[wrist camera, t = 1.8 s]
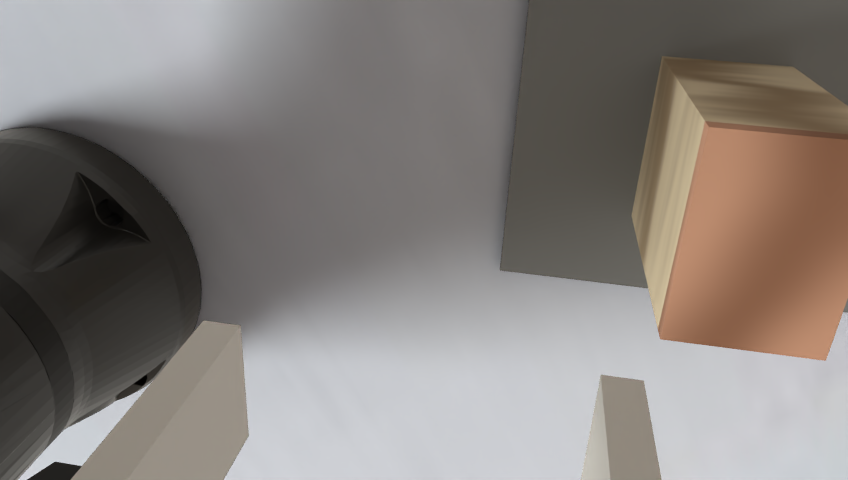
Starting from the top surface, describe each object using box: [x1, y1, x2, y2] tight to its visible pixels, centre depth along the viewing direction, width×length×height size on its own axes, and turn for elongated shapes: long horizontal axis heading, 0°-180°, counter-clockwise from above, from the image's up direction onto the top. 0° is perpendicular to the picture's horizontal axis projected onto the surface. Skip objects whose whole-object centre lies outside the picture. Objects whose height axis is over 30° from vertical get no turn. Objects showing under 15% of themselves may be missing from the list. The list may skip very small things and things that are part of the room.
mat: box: [500, 0, 848, 312], centre depth 29 cm, size 24×16×1 cm, turn 87°
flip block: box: [631, 56, 848, 361], centre depth 26 cm, size 5×7×10 cm
